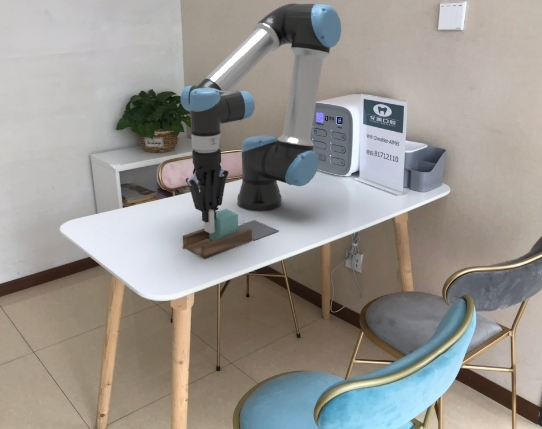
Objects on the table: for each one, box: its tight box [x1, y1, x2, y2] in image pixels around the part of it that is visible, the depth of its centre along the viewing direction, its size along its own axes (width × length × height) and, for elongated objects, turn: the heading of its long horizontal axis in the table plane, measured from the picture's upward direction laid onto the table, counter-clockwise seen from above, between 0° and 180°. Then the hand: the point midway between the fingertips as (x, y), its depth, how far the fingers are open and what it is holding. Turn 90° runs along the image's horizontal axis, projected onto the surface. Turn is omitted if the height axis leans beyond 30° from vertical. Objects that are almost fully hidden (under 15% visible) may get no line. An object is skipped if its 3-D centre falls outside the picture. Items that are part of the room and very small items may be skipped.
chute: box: [182, 228, 253, 259], centre depth 153 cm, size 10×17×4 cm, turn 134°
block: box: [209, 208, 239, 241], centre depth 153 cm, size 5×6×8 cm
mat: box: [238, 219, 280, 242], centre depth 162 cm, size 11×10×1 cm
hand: (209, 231), depth 150 cm, fingers closed
